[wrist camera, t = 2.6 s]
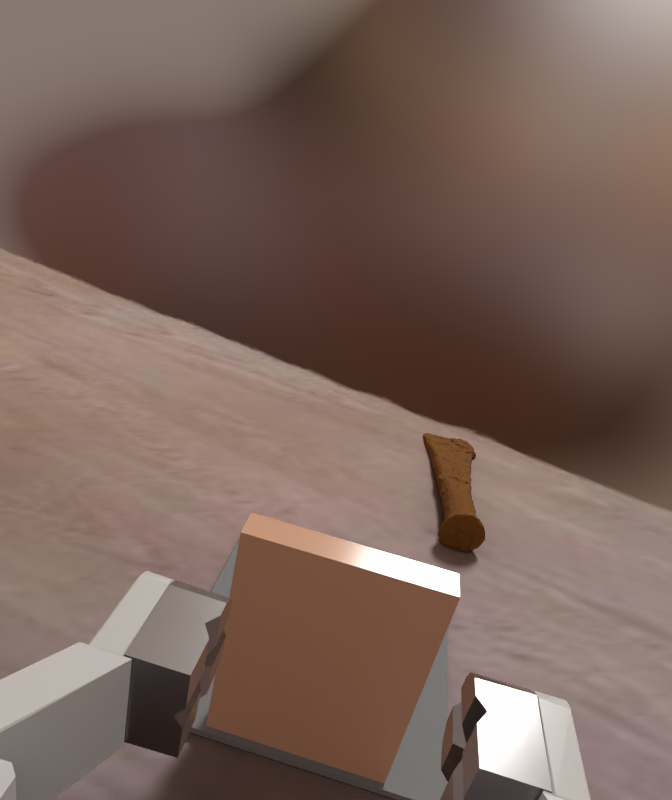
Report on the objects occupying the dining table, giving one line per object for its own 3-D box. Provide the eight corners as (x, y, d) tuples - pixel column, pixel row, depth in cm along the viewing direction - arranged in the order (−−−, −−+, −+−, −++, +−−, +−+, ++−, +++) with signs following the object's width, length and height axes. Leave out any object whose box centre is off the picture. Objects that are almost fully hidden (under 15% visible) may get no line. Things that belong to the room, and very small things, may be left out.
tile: (205, 725, 28) (240, 532, 23) (217, 697, 30) (253, 509, 25) (384, 783, 28) (460, 597, 23) (387, 752, 29) (459, 570, 24)
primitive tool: (421, 435, 63) (431, 407, 62) (470, 448, 63) (481, 420, 62) (432, 551, 46) (446, 516, 44) (500, 567, 46) (516, 533, 45)
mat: (144, 717, 29) (145, 712, 28) (243, 534, 42) (244, 530, 42) (443, 815, 27) (445, 810, 27) (445, 594, 41) (447, 590, 41)
